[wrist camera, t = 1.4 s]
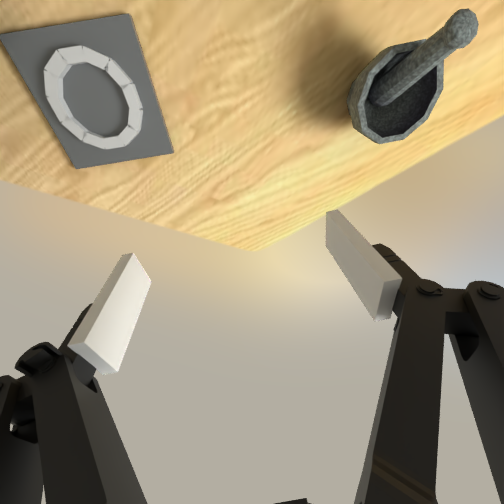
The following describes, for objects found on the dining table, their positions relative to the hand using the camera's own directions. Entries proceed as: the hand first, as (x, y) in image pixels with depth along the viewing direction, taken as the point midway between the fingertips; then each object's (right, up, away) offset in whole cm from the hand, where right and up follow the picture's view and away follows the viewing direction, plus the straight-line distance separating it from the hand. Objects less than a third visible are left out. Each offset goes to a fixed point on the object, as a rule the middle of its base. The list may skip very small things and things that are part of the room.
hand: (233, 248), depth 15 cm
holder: (-18, +19, +13) cm, 29 cm away
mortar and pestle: (+18, +22, +15) cm, 32 cm away
